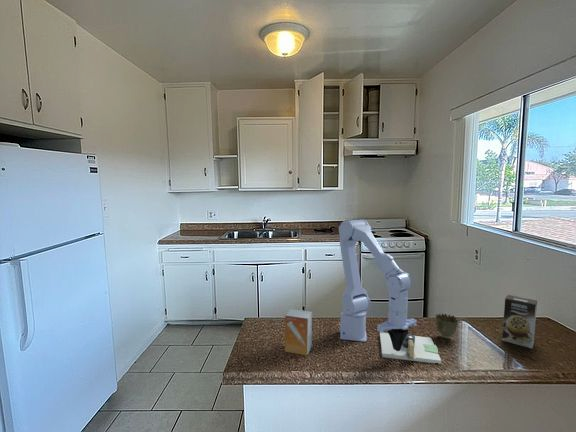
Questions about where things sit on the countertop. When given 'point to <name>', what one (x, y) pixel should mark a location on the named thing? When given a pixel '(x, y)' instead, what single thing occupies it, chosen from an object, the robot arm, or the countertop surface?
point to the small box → (298, 331)
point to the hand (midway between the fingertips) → (396, 349)
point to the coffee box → (519, 321)
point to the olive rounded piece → (446, 325)
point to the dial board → (422, 350)
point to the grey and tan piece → (409, 344)
